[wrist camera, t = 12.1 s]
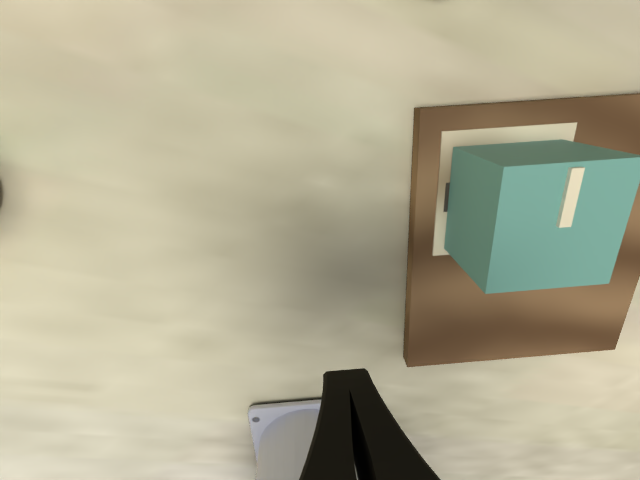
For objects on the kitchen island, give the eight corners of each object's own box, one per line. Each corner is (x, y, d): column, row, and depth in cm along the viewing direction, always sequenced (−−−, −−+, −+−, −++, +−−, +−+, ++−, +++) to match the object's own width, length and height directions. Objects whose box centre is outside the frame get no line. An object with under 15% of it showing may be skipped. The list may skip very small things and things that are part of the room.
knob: (541, 240, 20) (612, 285, 16) (444, 248, 20) (487, 296, 16) (562, 139, 18) (651, 157, 14) (452, 146, 18) (506, 168, 13)
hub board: (603, 339, 25) (660, 387, 21) (403, 356, 25) (423, 408, 21) (682, 90, 19) (785, 92, 15) (414, 107, 18) (446, 114, 14)
